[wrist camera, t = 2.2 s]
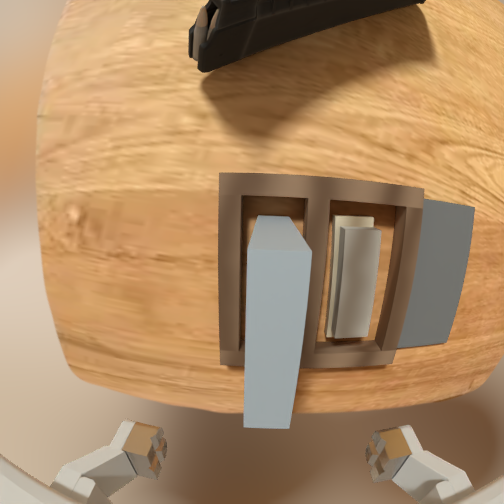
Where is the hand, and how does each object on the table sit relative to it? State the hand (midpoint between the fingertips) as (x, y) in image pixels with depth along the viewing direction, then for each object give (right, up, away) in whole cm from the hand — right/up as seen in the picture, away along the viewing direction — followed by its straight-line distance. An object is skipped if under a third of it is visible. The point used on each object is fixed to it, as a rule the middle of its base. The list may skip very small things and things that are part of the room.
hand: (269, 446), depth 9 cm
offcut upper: (+10, +4, +19) cm, 21 cm away
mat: (+21, +4, +19) cm, 29 cm away
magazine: (+7, +33, +14) cm, 37 cm away
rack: (+6, +5, +20) cm, 22 cm away
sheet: (+1, +5, +20) cm, 21 cm away
